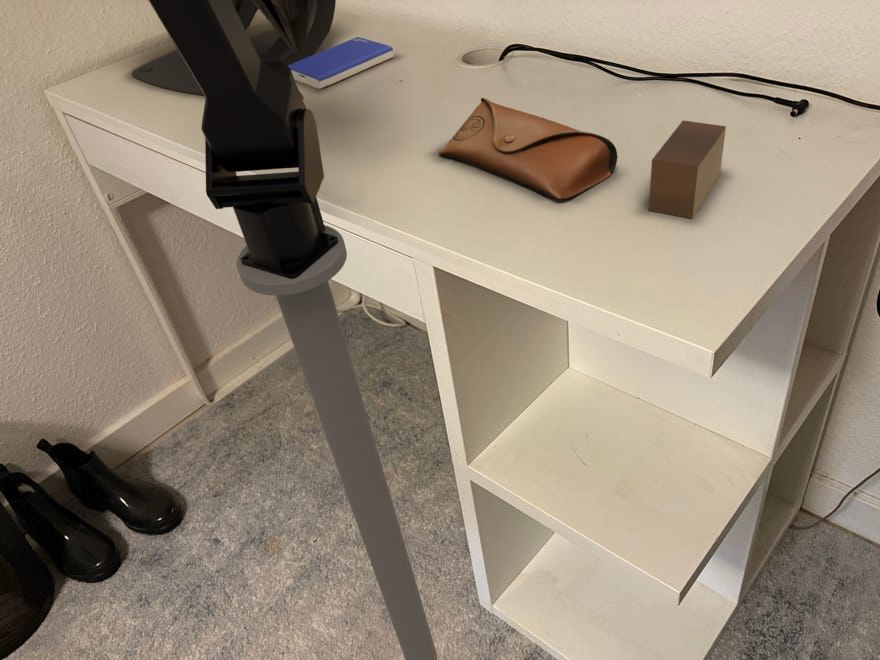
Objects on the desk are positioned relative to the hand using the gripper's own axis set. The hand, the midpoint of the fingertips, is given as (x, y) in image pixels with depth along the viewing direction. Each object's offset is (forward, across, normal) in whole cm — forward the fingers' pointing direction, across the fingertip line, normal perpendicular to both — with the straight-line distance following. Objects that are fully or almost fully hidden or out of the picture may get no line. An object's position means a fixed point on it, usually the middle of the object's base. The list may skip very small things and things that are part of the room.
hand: (299, 50), depth 72 cm
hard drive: (+12, +16, -23) cm, 31 cm away
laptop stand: (+12, +34, -20) cm, 42 cm away
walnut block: (+12, -37, -7) cm, 39 cm away
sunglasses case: (+12, -20, -7) cm, 24 cm away
